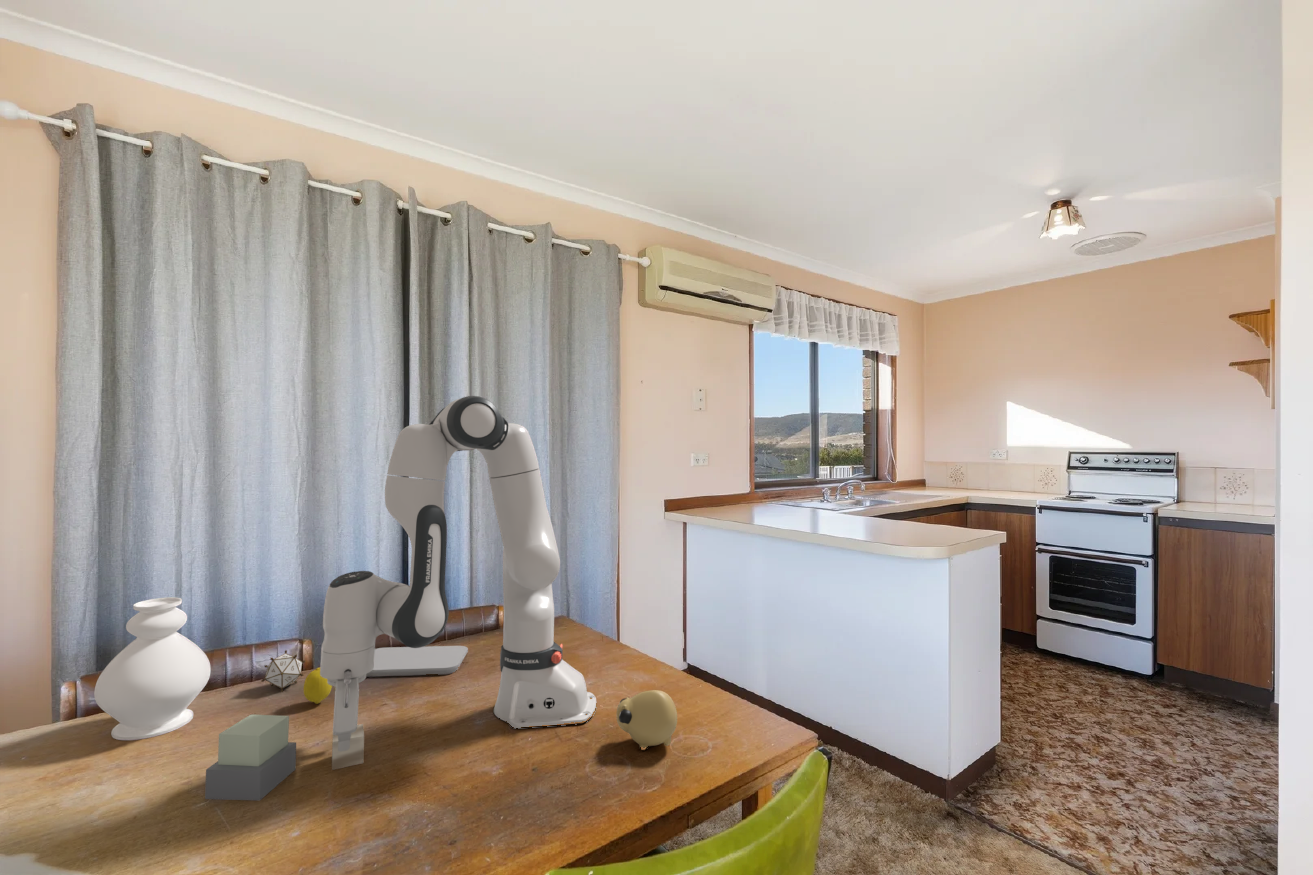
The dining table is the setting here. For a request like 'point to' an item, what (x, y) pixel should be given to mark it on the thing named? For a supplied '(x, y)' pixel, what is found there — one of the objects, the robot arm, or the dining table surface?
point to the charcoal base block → (250, 777)
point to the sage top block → (253, 740)
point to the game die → (283, 670)
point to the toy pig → (648, 717)
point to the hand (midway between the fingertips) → (343, 737)
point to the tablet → (417, 660)
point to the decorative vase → (153, 674)
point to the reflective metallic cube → (349, 750)
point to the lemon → (316, 687)
